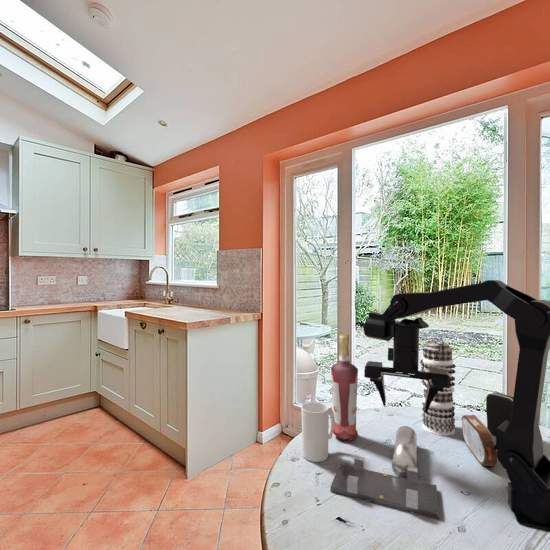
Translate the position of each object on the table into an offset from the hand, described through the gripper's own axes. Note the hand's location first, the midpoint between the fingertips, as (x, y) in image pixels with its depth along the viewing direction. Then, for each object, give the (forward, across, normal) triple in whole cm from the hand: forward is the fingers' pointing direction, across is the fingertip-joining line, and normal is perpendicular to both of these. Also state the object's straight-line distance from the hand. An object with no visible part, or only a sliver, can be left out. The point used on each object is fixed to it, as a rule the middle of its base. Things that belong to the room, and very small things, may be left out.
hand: (404, 408), depth 79 cm
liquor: (+13, +15, -6) cm, 21 cm away
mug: (+13, +20, +5) cm, 24 cm away
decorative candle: (+12, -10, -20) cm, 26 cm away
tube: (+12, -1, 0) cm, 12 cm away
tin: (+12, -17, -8) cm, 22 cm away
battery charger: (+12, -26, -22) cm, 36 cm away
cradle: (+12, +4, +14) cm, 19 cm away
